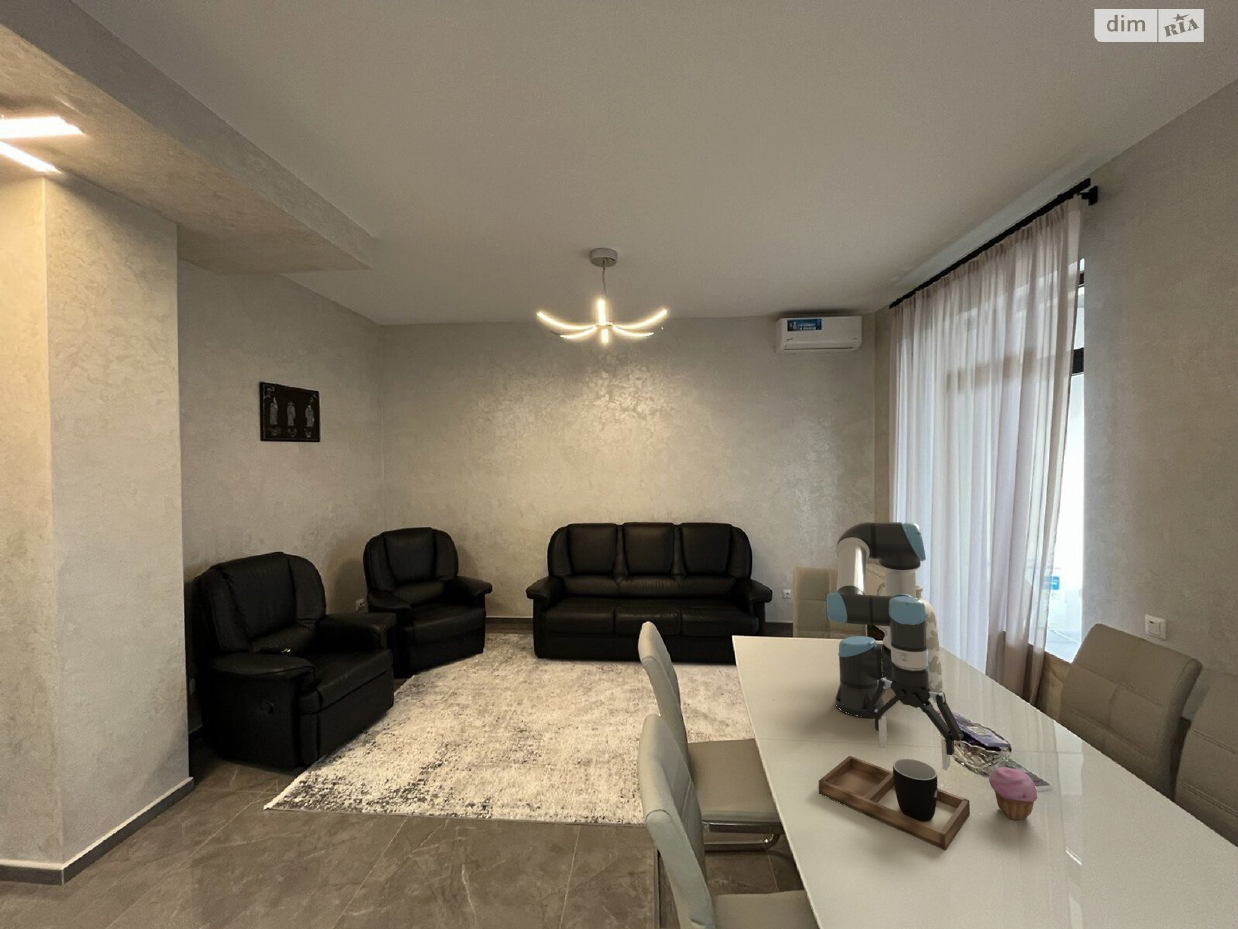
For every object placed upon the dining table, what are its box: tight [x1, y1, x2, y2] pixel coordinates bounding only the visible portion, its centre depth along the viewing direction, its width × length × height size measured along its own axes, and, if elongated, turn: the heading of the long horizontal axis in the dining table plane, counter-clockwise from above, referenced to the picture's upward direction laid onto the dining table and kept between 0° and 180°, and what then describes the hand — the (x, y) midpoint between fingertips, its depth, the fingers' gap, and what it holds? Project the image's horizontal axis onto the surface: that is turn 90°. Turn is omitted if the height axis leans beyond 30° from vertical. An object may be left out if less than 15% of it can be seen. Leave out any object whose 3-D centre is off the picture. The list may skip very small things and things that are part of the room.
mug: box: [892, 758, 938, 822], centre depth 123 cm, size 12×9×10 cm
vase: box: [876, 581, 944, 693], centre depth 197 cm, size 20×19×38 cm
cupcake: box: [988, 766, 1038, 821], centre depth 121 cm, size 9×9×10 cm
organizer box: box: [818, 755, 971, 851], centre depth 127 cm, size 28×17×3 cm, turn 42°
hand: (913, 756), depth 123 cm, fingers open, 13 cm apart
